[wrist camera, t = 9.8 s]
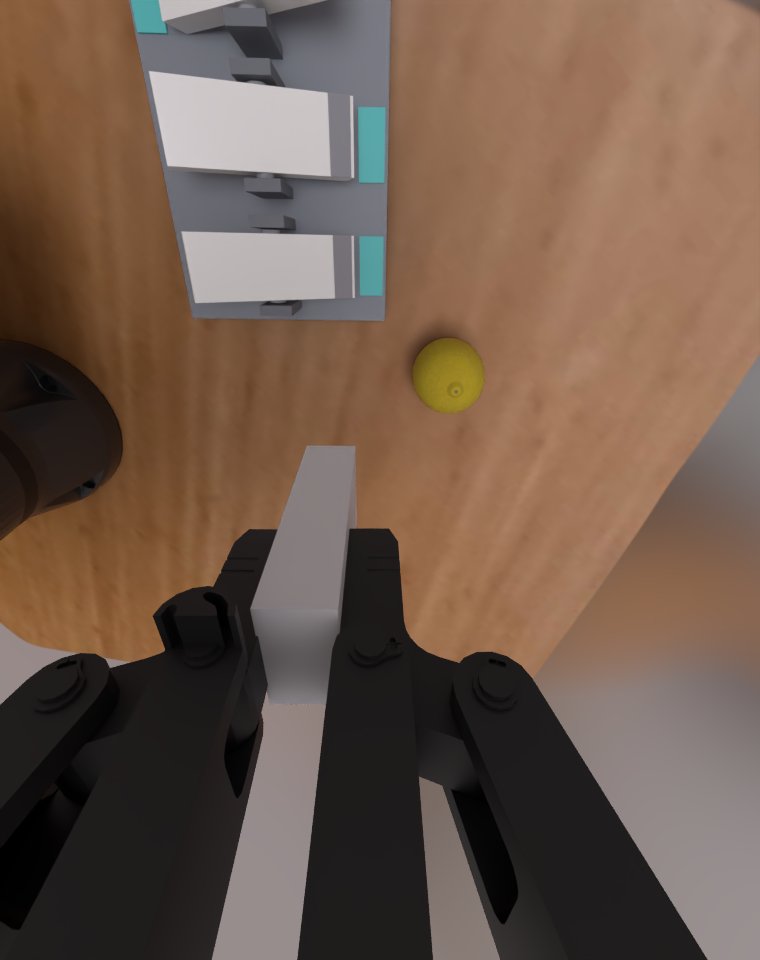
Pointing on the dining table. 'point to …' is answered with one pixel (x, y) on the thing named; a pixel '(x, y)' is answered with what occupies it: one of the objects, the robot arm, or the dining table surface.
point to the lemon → (448, 375)
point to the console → (284, 201)
